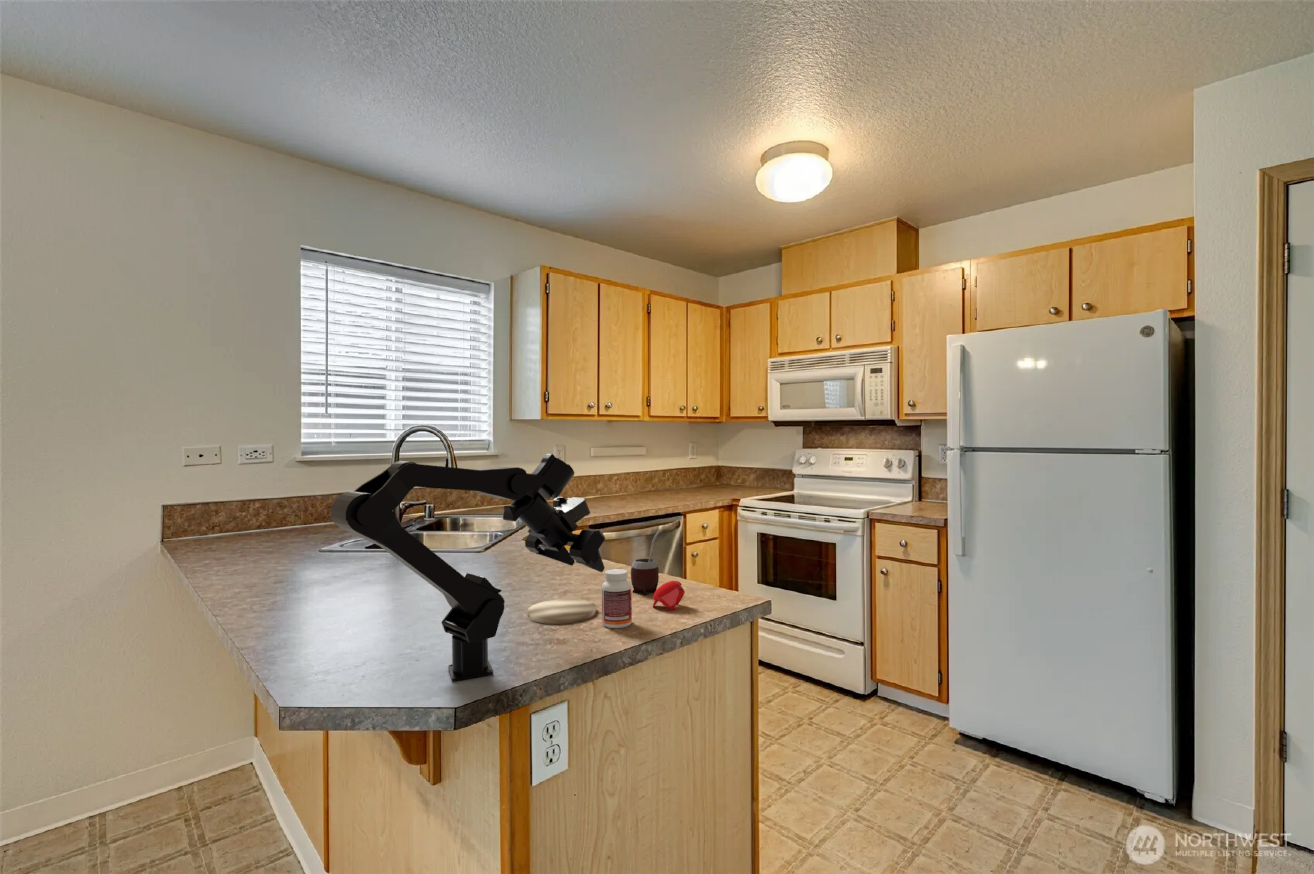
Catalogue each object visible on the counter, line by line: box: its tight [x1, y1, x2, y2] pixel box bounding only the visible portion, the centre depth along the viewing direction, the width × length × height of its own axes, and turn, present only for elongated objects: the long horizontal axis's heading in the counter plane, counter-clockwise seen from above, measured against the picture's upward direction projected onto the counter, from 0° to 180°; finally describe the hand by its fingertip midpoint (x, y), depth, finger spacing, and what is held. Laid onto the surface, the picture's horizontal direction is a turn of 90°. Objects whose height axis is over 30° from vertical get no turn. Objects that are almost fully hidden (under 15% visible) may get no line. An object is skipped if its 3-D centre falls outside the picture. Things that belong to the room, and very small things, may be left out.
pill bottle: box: [601, 568, 633, 629], centre depth 123 cm, size 6×6×11 cm
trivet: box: [527, 598, 597, 625], centre depth 131 cm, size 15×15×1 cm
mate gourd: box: [630, 529, 661, 596], centre depth 149 cm, size 8×8×15 cm
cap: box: [652, 580, 686, 611], centre depth 135 cm, size 8×6×6 cm
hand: (587, 566), depth 117 cm, fingers open, 9 cm apart
